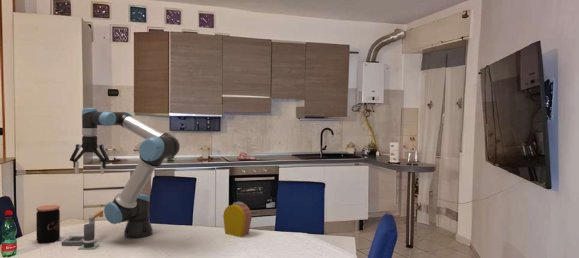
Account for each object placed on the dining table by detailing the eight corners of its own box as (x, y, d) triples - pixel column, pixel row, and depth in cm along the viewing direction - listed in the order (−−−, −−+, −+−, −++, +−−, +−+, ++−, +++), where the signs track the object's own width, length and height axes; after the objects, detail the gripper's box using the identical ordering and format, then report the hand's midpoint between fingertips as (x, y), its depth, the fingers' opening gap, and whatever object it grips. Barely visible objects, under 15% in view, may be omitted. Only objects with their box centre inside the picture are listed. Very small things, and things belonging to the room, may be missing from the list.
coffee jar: (48, 244, 203) (48, 210, 203) (31, 242, 206) (31, 208, 205) (64, 238, 214) (64, 205, 213) (47, 236, 216) (47, 204, 215)
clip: (93, 223, 206) (93, 216, 206) (88, 223, 206) (88, 216, 206) (103, 216, 221) (103, 209, 220) (99, 216, 220) (99, 209, 220)
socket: (99, 239, 213) (99, 217, 213) (92, 245, 203) (92, 222, 203) (70, 239, 212) (70, 217, 211) (61, 245, 202) (61, 222, 201)
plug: (93, 247, 198) (93, 226, 198) (81, 248, 197) (81, 226, 197) (96, 244, 204) (96, 223, 203) (84, 244, 203) (85, 223, 202)
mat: (99, 245, 204) (99, 244, 204) (94, 249, 198) (94, 248, 198) (83, 245, 203) (83, 244, 203) (78, 249, 197) (78, 248, 197)
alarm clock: (251, 234, 228) (252, 203, 227) (242, 237, 221) (243, 205, 220) (232, 229, 236) (232, 199, 235) (223, 233, 229) (223, 202, 228)
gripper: (115, 135, 222) (115, 173, 223) (69, 135, 220) (69, 172, 221) (110, 136, 215) (110, 175, 215) (62, 135, 212) (62, 174, 213)
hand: (89, 173), depth 218 cm, fingers open, 13 cm apart
